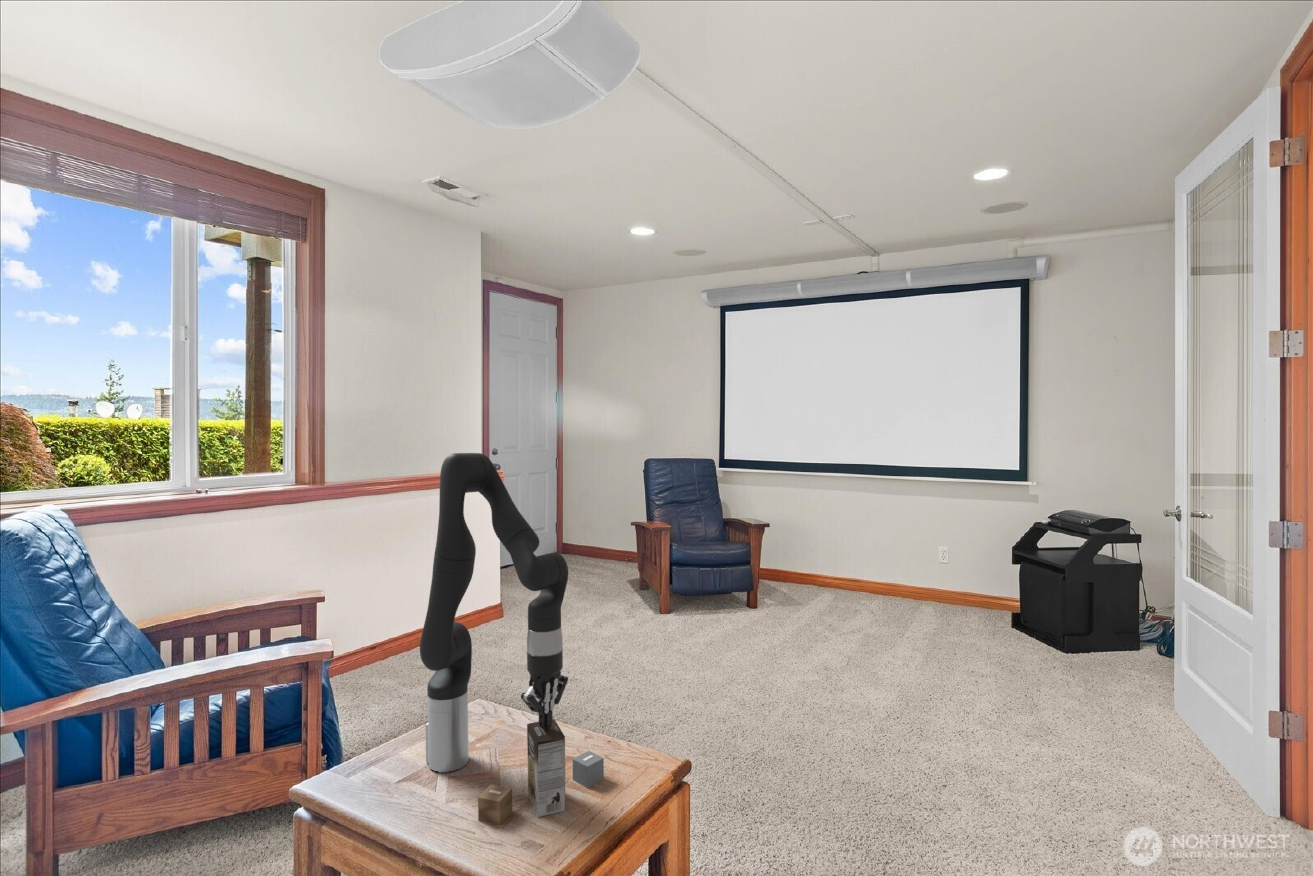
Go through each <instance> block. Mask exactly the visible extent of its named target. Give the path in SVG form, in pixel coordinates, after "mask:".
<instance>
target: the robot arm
mask: <svg viewBox="0 0 1313 876" xmlns="http://www.w3.org/2000/svg"><path fill="white" fill-rule="evenodd" d="M466 493H479V494H480V495H481V496H483V498H485V500H486V501H487V503H488V504H489V507H490V512H491V524H492V527H493V531H494V534H495V535H496V537H497V538H498V540H499V541H500V542H501V544H502V545H503V548H505V549H506V551H507V552H508V553H509V555H510V557H511V560H512V564H513V567H514V569H515V572H516V576H517V577H518V580H519V583H521V584H522V586H523V587H524V588H526V589H527V590H528V591H531V592H539V591H540V592H539V594H538V595H537V596H536V597H535V598H534V599H532V600H531V601H530V602H529V604H528V606H527V634H526V635H527V636H526V669H527V672H528V674H529V676H530V677H529V680H528V689H527V691H526V692H521V694H520V698H521V700H522V701H523V702H524V704H525V705H526V706H527V708H529V709H530V711H531V712H535V713H538V722H539V727H540V728H542V729H545V730H547V729H549V728H550V727H552V721H553V717H554V716H553V710H554V709H555V706H556V705H558V704H560V701H561V699H562V696H563V693H564V691H565V689H566V687H567V684H568V681H569V677H568V676H566V675H563V674H562V672H561V671H562V670H563V664H564V659H563V658H564V655H563V651H564V650H563V649H564V648H563V647H564V646H563V645H564V644H563V639H564V638H563V632H562V605H563V602H564V597H565V593H566V589H567V585H568V580H569V567H568V563H567V561H566V558H564V557H563V555H561V554H560V553H558V552H550V553H545V554H541V555H537V556H536V555H535V552H536V551H537V549H538V548H539V547H540V538H539V536H538V535H537V533H536V532H535V531H534V529H533V528H532V526H531V525H530V524H529V522H528V521H527V520H526V519H525V517H524V515H522V514H521V512H520V511H519V509H518V508H517V506H516V505H515V502H514V501H513V499H512V497H511V495H510V493H509V491H508V489H507V487H506V486H505V484H504V482H503V480H502V478H501V476H500V474H499V473H498V469H497V468H496V467H495V465H494V463H493V462H492V461H491V459H490V458H489V456H487V455H486V454H483V453H480V452H457V453H456V452H455V453H450V454H448V455H447V456H446V457H445V458H444V460H443V462H442V464H441V468H440V475H439V506H438V507H439V510H438V512H439V513H438V523H437V534H436V542H435V548H434V554H433V555H434V557H433V564H432V576H431V584H430V591H429V599H428V603H427V604H428V605H427V611H426V614H425V615H426V616H425V619H424V625H423V629H422V631H421V632H422V633H421V637H420V643H419V655H420V659H421V662H422V664H423V666H424V667H425V668H427V669H428V670H430V671H433V672H434V674H433V675H432V676H431V678H430V679H429V680H428V683H427V688H426V689H427V694H426V695H427V722H426V723H425V725H424V726H425V728H424V729H425V763H426V762H428V763H429V764H428V763H427V764H428V768H429V767H430V768H429V769H430V770H431V769H432V770H434V771H433V772H435V771H438V772H437V773H450V772H449V771H451V772H454V770H455V771H457V770H456V769H458V770H460V769H462V768H464V767H465V766H466V765H467V764H468V763H469V760H470V758H469V757H470V756H469V754H470V753H469V750H470V749H469V694H468V693H469V691H468V689H469V687H468V686H469V682H470V679H471V676H472V675H471V674H472V654H473V653H472V652H473V648H472V647H473V645H472V643H473V642H472V638H471V634H470V631H469V630H468V628H467V627H466V626H465V625H464V624H463V623H462V622H461V623H460V622H457V621H455V618H456V615H457V611H458V609H459V607H460V604H461V602H462V600H463V598H464V596H465V593H467V590H468V588H469V586H470V583H471V581H472V579H473V574H474V570H475V569H474V568H475V563H476V562H475V560H476V553H477V551H476V550H477V549H476V543H475V540H474V538H473V534H472V533H471V531H470V529H469V527H468V525H467V522H466V519H465V513H464V510H465V509H464V507H465V498H466ZM467 762H468V763H467ZM432 770H431V771H432Z"/></svg>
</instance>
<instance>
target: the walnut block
mask: <svg viewBox="0 0 1313 876" xmlns="http://www.w3.org/2000/svg"><path fill="white" fill-rule="evenodd" d="M477 809H478V811H477V816H478V818H477V820H478V822H482V823H488V824H492V825H498V826H500V825H501V824H502V823H503V822H504V821H505V820H506V819H507V818H508V816H509V815H511V813H512V812H513V788H512V787H507V786H503V785H496V784H490V785H489V786H488V787H487V788H486V789H485V790H483V792H482V793H481V794H480V795H479V796H478V797H477Z"/></svg>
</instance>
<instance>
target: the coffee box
mask: <svg viewBox="0 0 1313 876" xmlns="http://www.w3.org/2000/svg"><path fill="white" fill-rule="evenodd" d="M526 730H527V731H526V733H527V737H526V738H527V739H526V741H527V784H528V785H527V787H528V788H527V790H528V791H527V792H528V793H527V795H528V797H529V800H530V802H531V805H532V808H533V811H534V812H535V813H534V814H535V815H536V818H541V817H546V816H548V815H552V814H553V815H554V814H558V813H563V812H565V811H566V736H565V734H564V733H563V731H562V730H561V728H560V726H559V724H558V723H557V721H556V719H555V718H554V719H553V721H552V727H550V728H549V729H547V730H545V729H542V728H540V727H539V721H535V722H530V723H527V724H526Z"/></svg>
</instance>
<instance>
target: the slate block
mask: <svg viewBox="0 0 1313 876" xmlns="http://www.w3.org/2000/svg"><path fill="white" fill-rule="evenodd" d="M604 761H605V760H604V757H603V756H600V755H598V754H596V753H595V752H592V750H588V751H585V752H584V753H582V754H580V755H577V756H576V757H573V758H572V780H573V782H576V783H577V784H579V785H581V786H582V787H584V788H586V789H590V788H591V787H592V786H594V785H596V784H598V783H599V782H601V781H603V780H604V779H605V777H604V776H605V774H604V773H605V771H604V770H605V768H604V767H605V766H604V763H605V762H604Z"/></svg>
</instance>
